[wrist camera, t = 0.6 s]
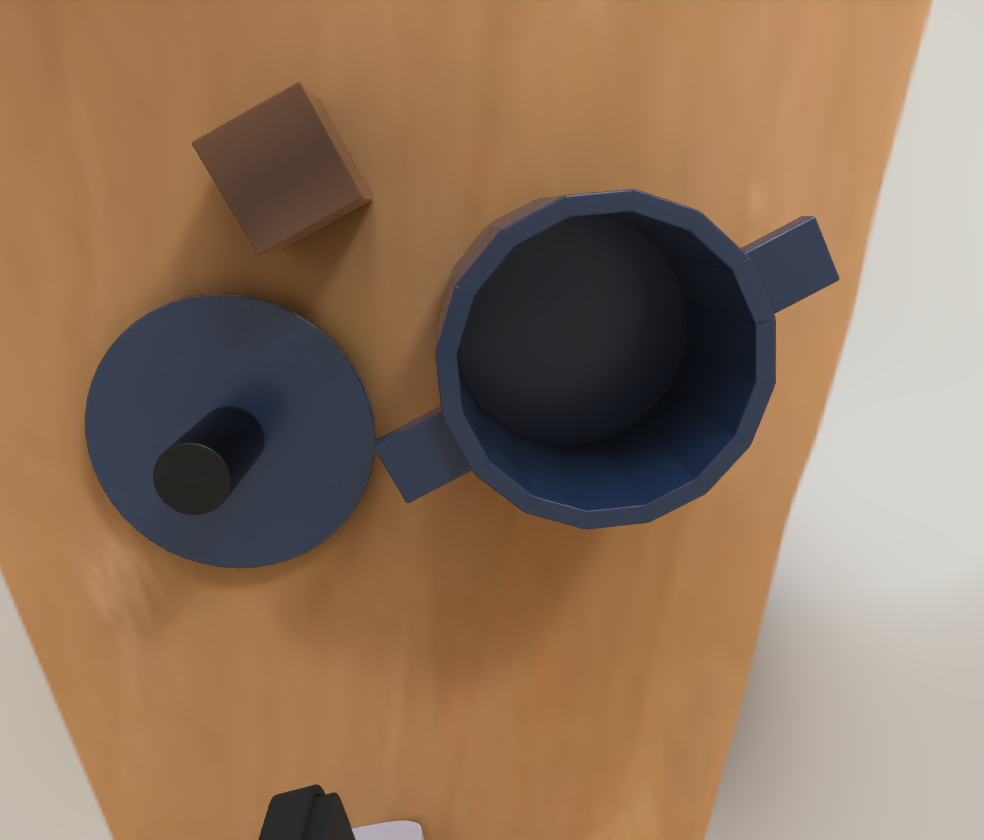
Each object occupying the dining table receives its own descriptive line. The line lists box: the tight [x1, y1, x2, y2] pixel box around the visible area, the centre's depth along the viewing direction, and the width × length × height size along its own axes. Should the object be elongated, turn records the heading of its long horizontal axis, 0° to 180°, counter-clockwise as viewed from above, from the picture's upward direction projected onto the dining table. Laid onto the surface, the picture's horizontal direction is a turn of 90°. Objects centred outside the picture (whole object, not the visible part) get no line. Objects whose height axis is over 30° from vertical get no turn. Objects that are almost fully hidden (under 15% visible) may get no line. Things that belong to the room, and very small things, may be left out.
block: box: [192, 82, 373, 255], centre depth 30 cm, size 4×4×4 cm
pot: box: [374, 189, 839, 529], centre depth 31 cm, size 11×17×8 cm
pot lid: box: [85, 294, 376, 568], centre depth 32 cm, size 12×12×7 cm
